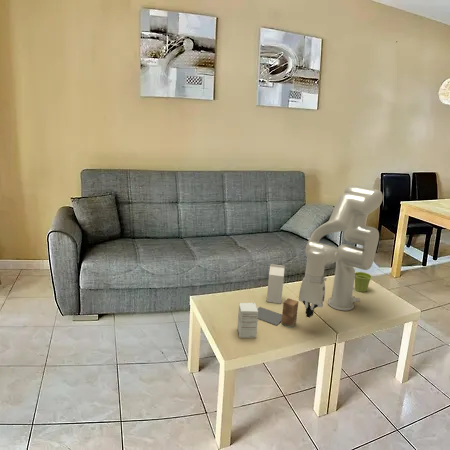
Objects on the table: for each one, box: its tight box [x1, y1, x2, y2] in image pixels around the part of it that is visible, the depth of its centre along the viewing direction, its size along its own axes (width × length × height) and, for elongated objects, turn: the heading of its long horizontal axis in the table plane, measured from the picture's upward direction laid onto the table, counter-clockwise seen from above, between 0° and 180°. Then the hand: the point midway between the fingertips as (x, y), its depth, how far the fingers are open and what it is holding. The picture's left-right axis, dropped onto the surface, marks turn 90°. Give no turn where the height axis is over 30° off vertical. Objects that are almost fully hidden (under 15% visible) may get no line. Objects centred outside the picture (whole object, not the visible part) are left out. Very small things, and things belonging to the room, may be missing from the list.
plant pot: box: [354, 271, 373, 293], centre depth 212 cm, size 9×9×9 cm
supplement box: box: [236, 302, 259, 339], centre depth 164 cm, size 7×7×13 cm
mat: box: [257, 306, 282, 327], centre depth 180 cm, size 14×10×1 cm
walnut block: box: [280, 298, 300, 329], centre depth 173 cm, size 5×5×11 cm
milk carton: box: [266, 263, 286, 304], centre depth 194 cm, size 7×7×19 cm
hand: (309, 315), depth 168 cm, fingers closed
